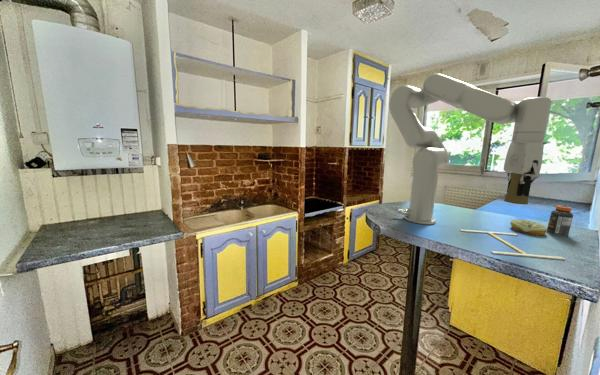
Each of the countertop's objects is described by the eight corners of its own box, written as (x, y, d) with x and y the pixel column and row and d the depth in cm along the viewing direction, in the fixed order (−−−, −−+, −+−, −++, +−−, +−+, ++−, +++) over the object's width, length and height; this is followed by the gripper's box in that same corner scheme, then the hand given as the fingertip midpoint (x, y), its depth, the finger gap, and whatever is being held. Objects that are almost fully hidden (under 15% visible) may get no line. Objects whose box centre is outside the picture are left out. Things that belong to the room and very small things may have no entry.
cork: (518, 200, 83) (524, 168, 81) (533, 204, 77) (539, 170, 75) (499, 199, 84) (505, 168, 82) (512, 203, 78) (518, 170, 76)
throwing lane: (493, 253, 76) (493, 252, 75) (459, 230, 95) (460, 229, 95) (565, 260, 73) (565, 258, 73) (515, 234, 93) (515, 233, 93)
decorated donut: (526, 236, 92) (528, 226, 91) (502, 226, 103) (504, 217, 102) (553, 236, 92) (555, 227, 92) (527, 226, 103) (529, 218, 102)
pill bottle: (544, 230, 99) (551, 203, 97) (565, 233, 96) (572, 206, 94) (548, 234, 94) (555, 206, 92) (570, 238, 91) (578, 209, 89)
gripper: (498, 138, 86) (489, 189, 89) (534, 137, 70) (522, 199, 73) (521, 139, 85) (512, 190, 88) (564, 138, 68) (551, 200, 72)
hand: (517, 193), depth 80 cm, fingers closed on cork, 3 cm apart
